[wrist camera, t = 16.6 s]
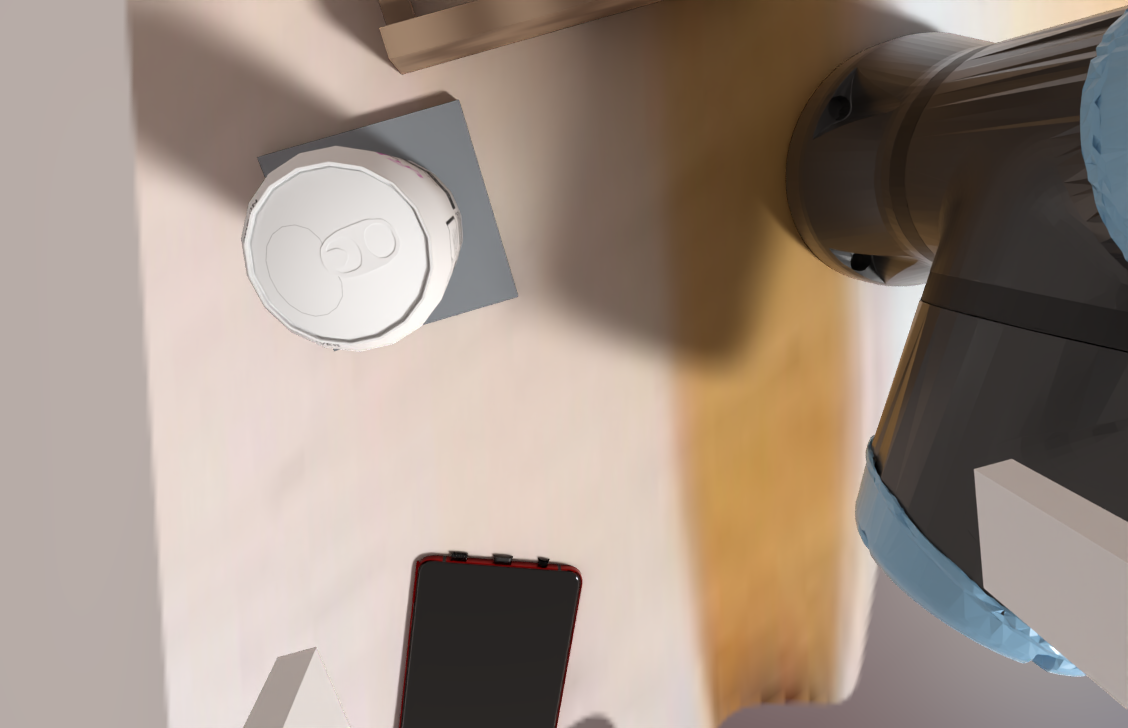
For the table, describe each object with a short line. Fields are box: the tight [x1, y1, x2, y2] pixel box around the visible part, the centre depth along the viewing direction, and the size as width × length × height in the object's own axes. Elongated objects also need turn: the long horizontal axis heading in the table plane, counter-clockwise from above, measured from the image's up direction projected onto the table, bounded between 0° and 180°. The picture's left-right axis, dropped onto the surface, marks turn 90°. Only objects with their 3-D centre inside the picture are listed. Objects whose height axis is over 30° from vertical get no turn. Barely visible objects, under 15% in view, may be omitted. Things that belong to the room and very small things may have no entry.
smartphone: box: [399, 552, 582, 728], centre depth 50 cm, size 12×2×25 cm
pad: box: [257, 100, 518, 351], centre depth 40 cm, size 12×12×1 cm
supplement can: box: [241, 146, 463, 352], centre depth 32 cm, size 8×8×15 cm
